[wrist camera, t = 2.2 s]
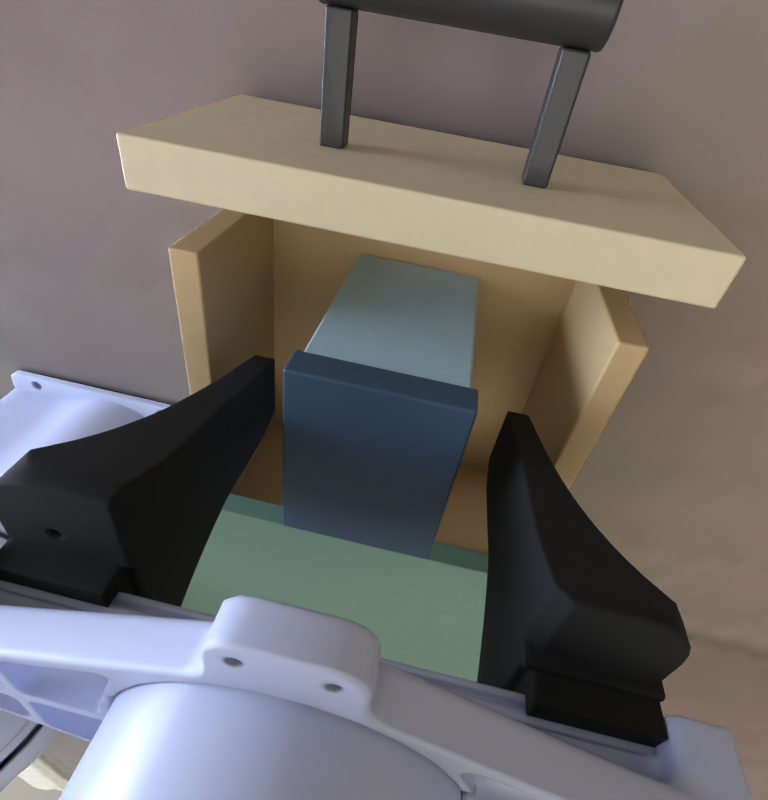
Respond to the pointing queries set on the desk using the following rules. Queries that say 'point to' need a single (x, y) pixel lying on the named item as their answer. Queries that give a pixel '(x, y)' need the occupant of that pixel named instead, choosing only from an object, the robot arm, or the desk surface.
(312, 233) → the drawer
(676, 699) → the desk surface
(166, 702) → the robot arm
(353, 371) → the container
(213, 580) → the cabinet
